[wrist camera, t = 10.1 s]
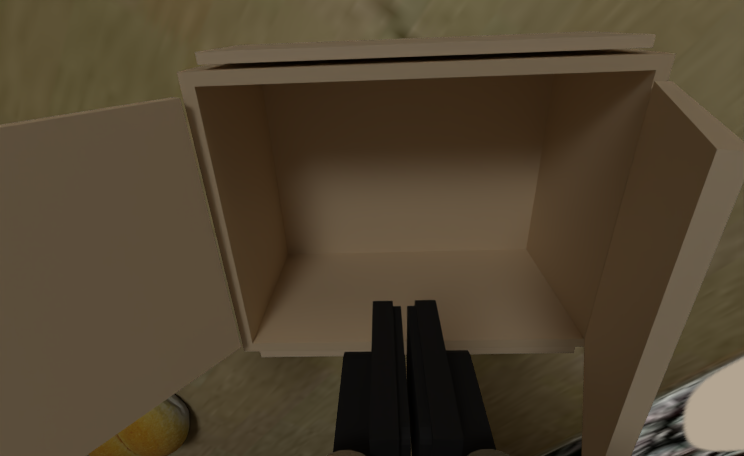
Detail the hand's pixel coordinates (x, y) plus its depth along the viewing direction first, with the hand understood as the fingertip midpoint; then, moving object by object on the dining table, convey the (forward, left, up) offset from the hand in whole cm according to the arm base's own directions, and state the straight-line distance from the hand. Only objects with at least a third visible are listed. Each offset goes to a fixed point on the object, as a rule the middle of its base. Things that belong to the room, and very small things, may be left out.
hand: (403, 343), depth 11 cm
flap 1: (+6, +5, -6) cm, 10 cm away
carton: (-1, -1, -15) cm, 16 cm away
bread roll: (+3, +31, -16) cm, 35 cm away
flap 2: (-7, -6, -6) cm, 11 cm away
